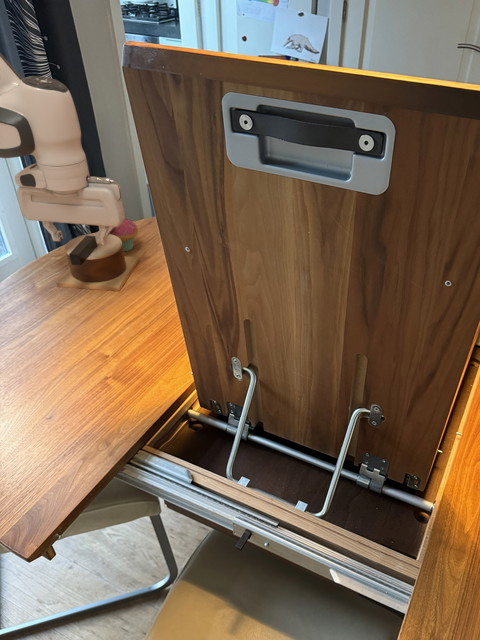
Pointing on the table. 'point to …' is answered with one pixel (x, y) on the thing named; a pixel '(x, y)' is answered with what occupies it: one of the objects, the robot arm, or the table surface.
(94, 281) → the cake
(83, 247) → the knife
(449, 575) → the table surface
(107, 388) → the table surface
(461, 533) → the table surface
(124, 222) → the cupcake
